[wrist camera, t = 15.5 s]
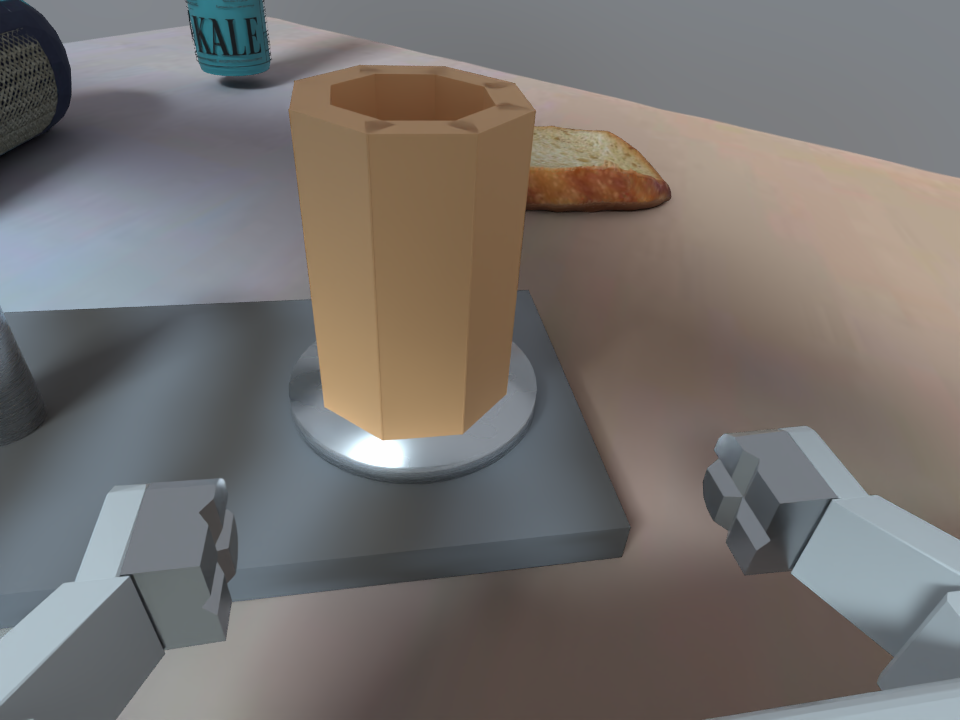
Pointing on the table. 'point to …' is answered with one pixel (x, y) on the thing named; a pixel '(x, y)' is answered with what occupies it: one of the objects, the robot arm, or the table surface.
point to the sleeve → (412, 240)
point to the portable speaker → (30, 75)
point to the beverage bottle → (230, 36)
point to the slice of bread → (590, 173)
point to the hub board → (281, 454)
